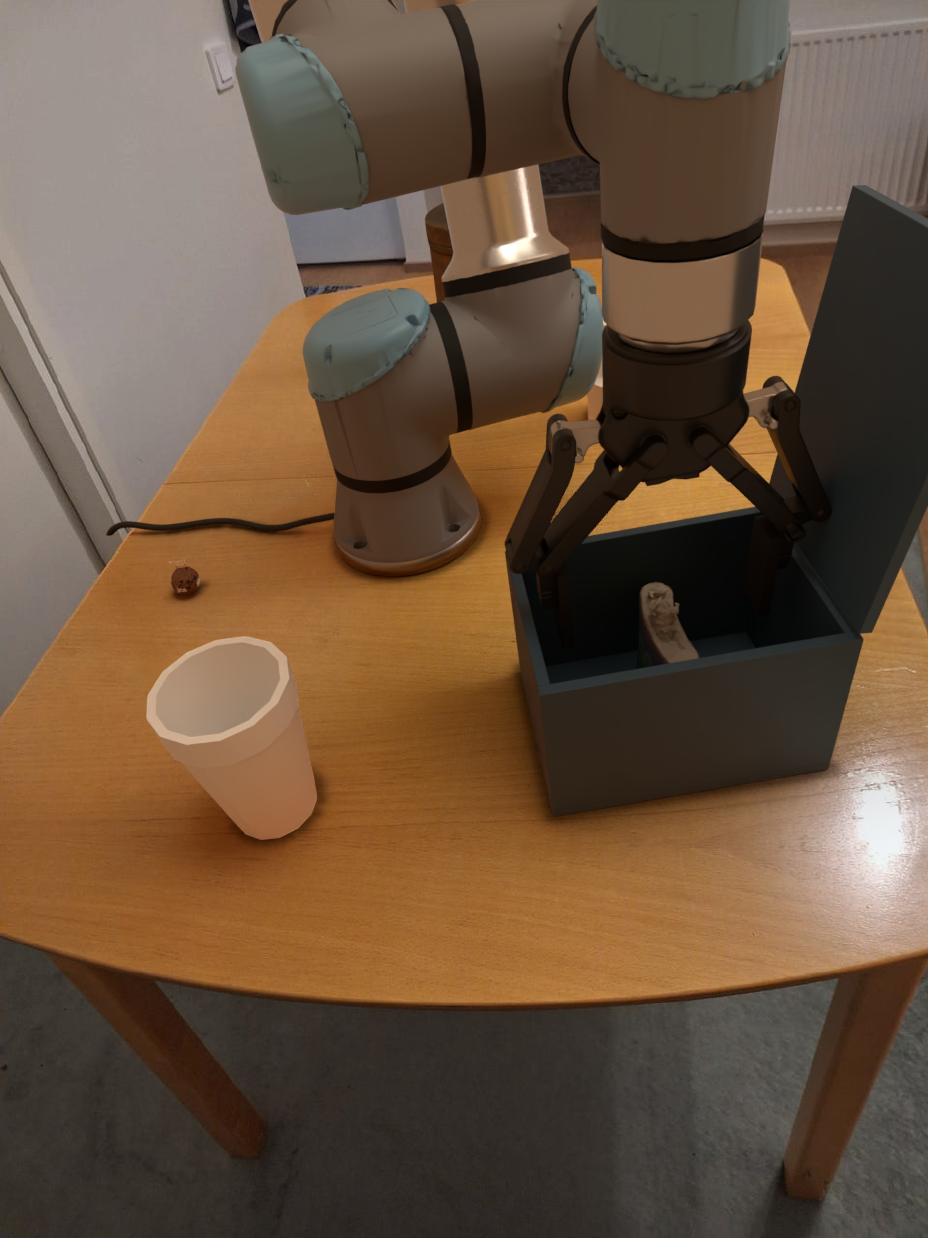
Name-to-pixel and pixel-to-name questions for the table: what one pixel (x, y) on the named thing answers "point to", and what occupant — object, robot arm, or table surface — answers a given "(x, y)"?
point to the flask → (661, 629)
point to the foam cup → (238, 732)
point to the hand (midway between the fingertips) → (660, 619)
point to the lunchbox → (681, 668)
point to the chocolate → (184, 578)
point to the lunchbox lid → (867, 404)
